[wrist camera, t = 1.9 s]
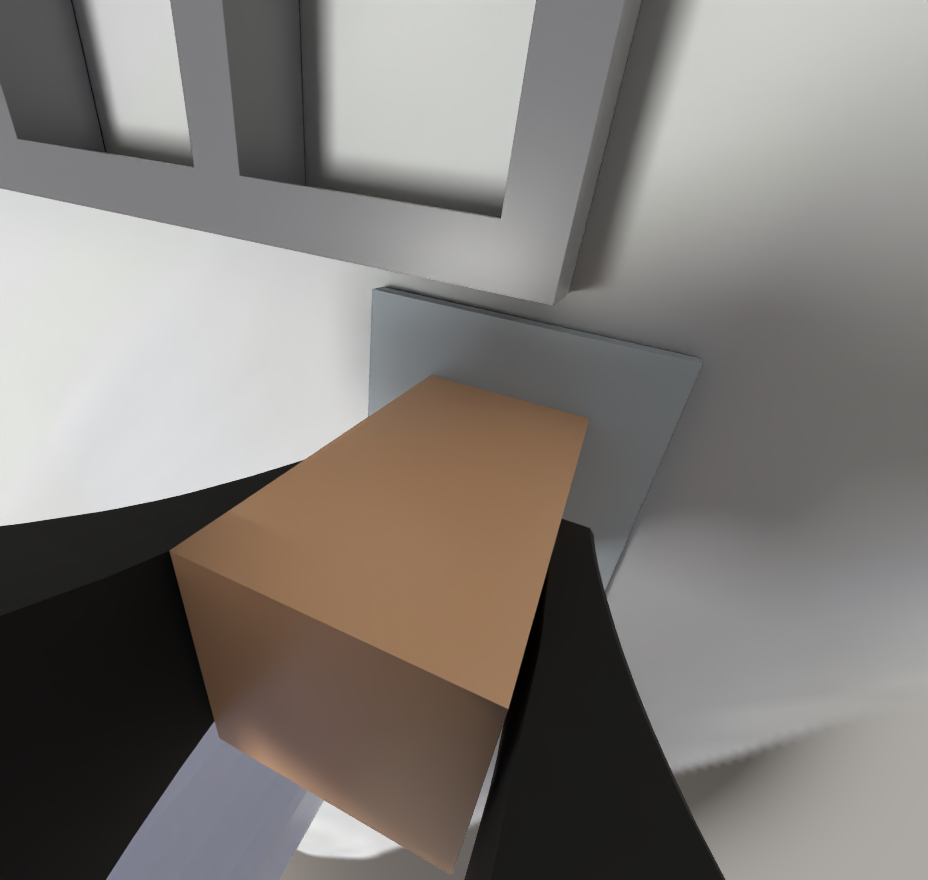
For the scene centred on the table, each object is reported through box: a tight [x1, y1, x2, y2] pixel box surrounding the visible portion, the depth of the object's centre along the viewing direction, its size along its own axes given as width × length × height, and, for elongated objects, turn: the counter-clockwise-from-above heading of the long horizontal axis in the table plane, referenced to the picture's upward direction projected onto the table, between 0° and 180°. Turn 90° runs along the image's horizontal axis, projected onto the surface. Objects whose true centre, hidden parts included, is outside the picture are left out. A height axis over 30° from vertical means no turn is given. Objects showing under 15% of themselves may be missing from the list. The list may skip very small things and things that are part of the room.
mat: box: [368, 287, 703, 591], centre depth 11 cm, size 8×8×1 cm
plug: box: [170, 375, 589, 875], centre depth 8 cm, size 4×4×7 cm
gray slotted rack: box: [0, 0, 642, 305], centre depth 9 cm, size 8×22×2 cm, turn 82°
